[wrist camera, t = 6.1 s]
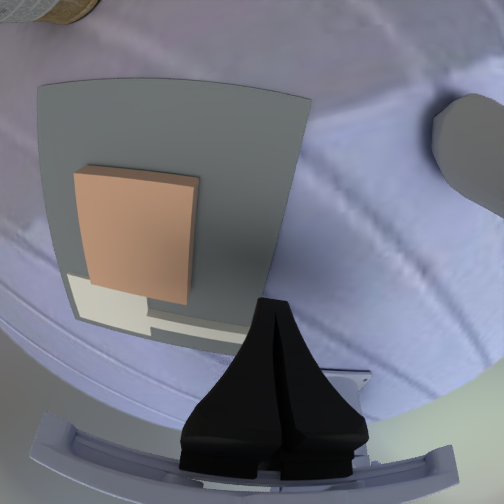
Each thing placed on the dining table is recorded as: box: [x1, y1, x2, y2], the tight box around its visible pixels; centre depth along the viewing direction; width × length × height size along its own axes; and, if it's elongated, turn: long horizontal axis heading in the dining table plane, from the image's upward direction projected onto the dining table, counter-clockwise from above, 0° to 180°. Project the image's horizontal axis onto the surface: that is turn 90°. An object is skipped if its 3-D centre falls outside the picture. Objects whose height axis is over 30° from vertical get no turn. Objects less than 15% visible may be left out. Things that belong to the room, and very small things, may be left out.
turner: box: [67, 272, 250, 344], centre depth 21 cm, size 15×5×1 cm, turn 80°
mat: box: [37, 78, 312, 356], centre depth 17 cm, size 20×16×1 cm
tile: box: [74, 165, 200, 305], centre depth 16 cm, size 8×2×7 cm
